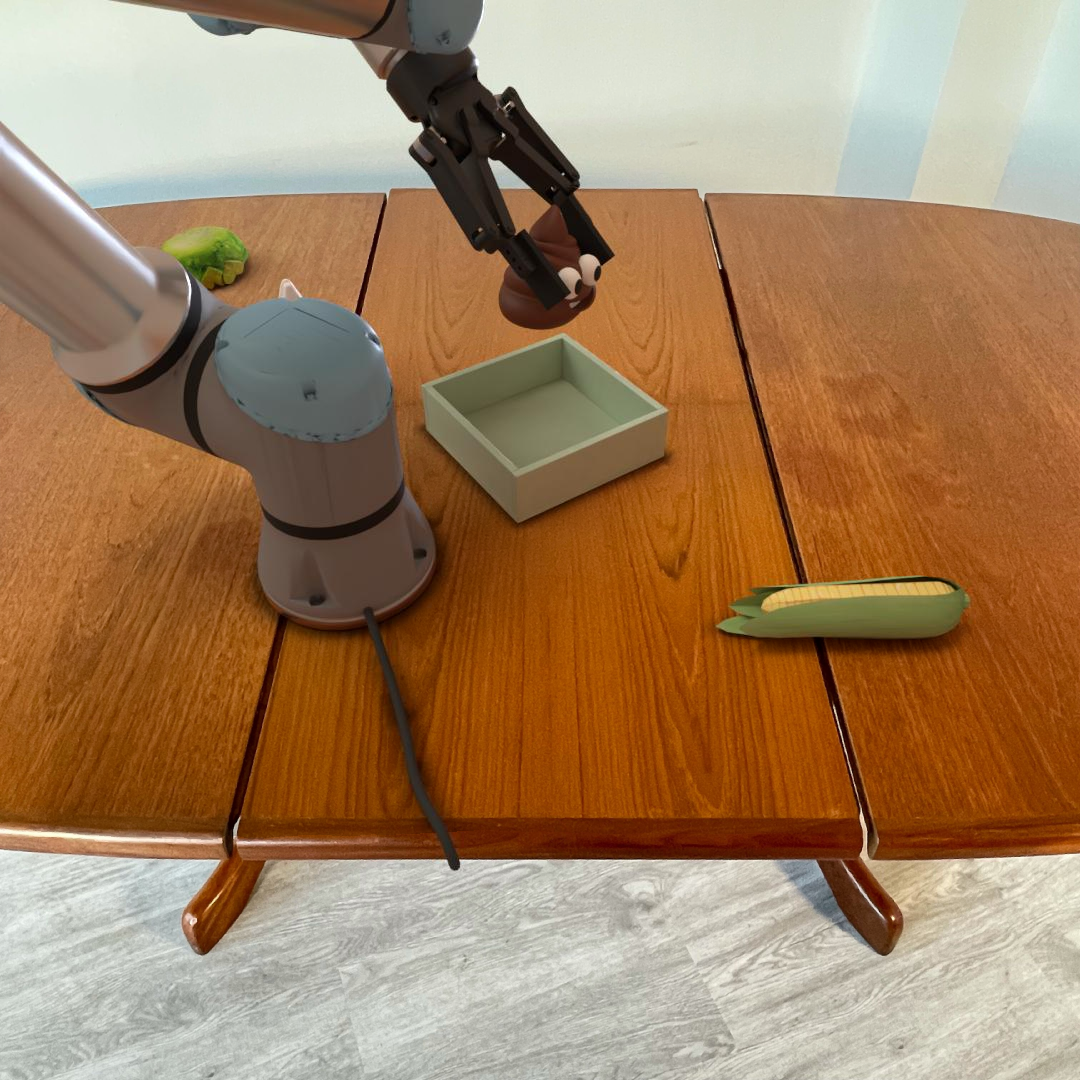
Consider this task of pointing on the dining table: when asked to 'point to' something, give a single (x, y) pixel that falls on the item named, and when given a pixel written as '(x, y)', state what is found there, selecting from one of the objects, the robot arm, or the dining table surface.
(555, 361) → the tub
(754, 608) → the edible corn
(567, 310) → the poop emoji
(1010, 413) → the dining table surface
